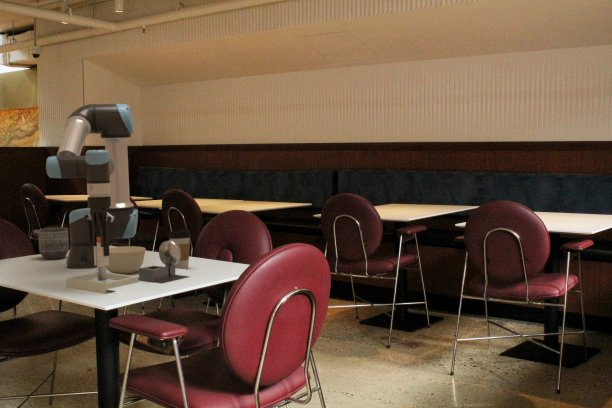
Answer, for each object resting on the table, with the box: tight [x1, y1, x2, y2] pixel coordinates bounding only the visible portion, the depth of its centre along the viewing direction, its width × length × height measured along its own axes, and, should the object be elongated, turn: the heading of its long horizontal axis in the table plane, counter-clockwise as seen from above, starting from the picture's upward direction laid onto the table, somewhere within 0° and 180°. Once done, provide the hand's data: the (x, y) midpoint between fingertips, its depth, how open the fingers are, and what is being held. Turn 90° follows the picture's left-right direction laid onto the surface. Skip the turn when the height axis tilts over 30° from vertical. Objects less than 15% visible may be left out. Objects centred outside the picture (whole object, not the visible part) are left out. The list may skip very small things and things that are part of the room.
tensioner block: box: [137, 239, 190, 285], centre depth 238 cm, size 16×14×14 cm
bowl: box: [106, 245, 146, 275], centre depth 250 cm, size 16×16×10 cm
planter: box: [37, 227, 70, 261], centre depth 296 cm, size 12×12×13 cm
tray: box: [65, 271, 139, 295], centre depth 231 cm, size 20×14×3 cm
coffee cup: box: [168, 229, 191, 270], centre depth 264 cm, size 8×8×15 cm
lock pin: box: [96, 236, 107, 282], centre depth 230 cm, size 3×3×15 cm
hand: (101, 265), depth 231 cm, fingers closed on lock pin, 3 cm apart
